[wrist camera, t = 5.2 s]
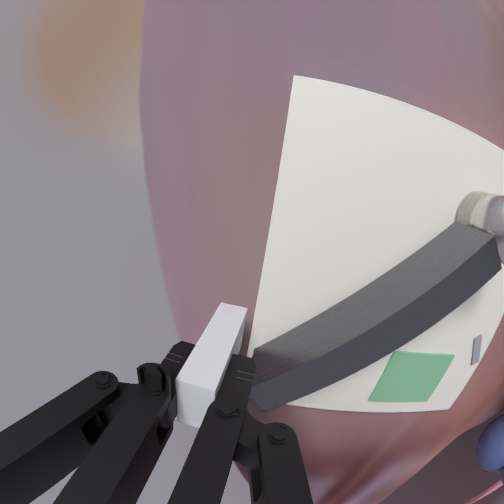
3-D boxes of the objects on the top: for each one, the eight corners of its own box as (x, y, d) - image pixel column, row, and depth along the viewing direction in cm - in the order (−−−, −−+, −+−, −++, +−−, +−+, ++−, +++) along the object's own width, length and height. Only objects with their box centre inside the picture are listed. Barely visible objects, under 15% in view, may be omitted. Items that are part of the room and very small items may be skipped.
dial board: (525, 172, 12) (538, 173, 10) (444, 399, 18) (449, 410, 16) (294, 83, 14) (293, 73, 12) (242, 383, 20) (238, 397, 19)
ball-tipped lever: (483, 181, 12) (527, 186, 7) (499, 228, 12) (539, 244, 8) (247, 338, 17) (232, 383, 13) (278, 374, 17) (272, 421, 13)
